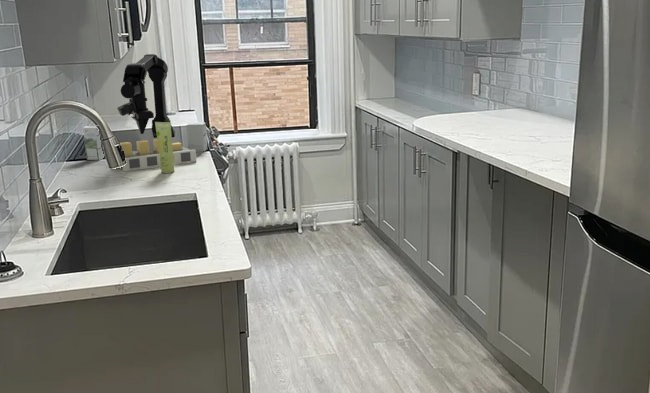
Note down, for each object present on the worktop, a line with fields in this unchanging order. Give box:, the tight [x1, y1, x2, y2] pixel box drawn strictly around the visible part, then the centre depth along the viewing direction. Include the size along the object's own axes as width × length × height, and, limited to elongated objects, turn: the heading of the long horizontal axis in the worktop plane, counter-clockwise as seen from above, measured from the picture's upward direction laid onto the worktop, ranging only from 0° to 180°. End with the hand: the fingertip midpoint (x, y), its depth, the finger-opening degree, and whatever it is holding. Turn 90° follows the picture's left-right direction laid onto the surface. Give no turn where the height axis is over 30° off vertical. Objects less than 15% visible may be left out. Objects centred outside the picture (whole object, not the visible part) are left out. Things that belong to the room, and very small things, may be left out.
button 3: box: [136, 139, 150, 155], centre depth 254 cm, size 4×4×6 cm
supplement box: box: [186, 121, 208, 153], centre depth 277 cm, size 7×7×13 cm
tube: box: [155, 121, 175, 174], centre depth 236 cm, size 6×5×20 cm
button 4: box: [119, 141, 133, 157], centre depth 251 cm, size 4×4×6 cm
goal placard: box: [122, 150, 197, 172], centre depth 248 cm, size 1×30×5 cm, turn 121°
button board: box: [120, 145, 190, 170], centre depth 257 cm, size 14×30×4 cm, turn 122°
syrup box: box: [82, 125, 105, 161], centre depth 263 cm, size 6×6×14 cm
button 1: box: [172, 142, 183, 151], centre depth 262 cm, size 4×4×6 cm
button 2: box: [152, 138, 159, 153], centre depth 258 cm, size 4×4×6 cm
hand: (142, 133), depth 253 cm, fingers closed
